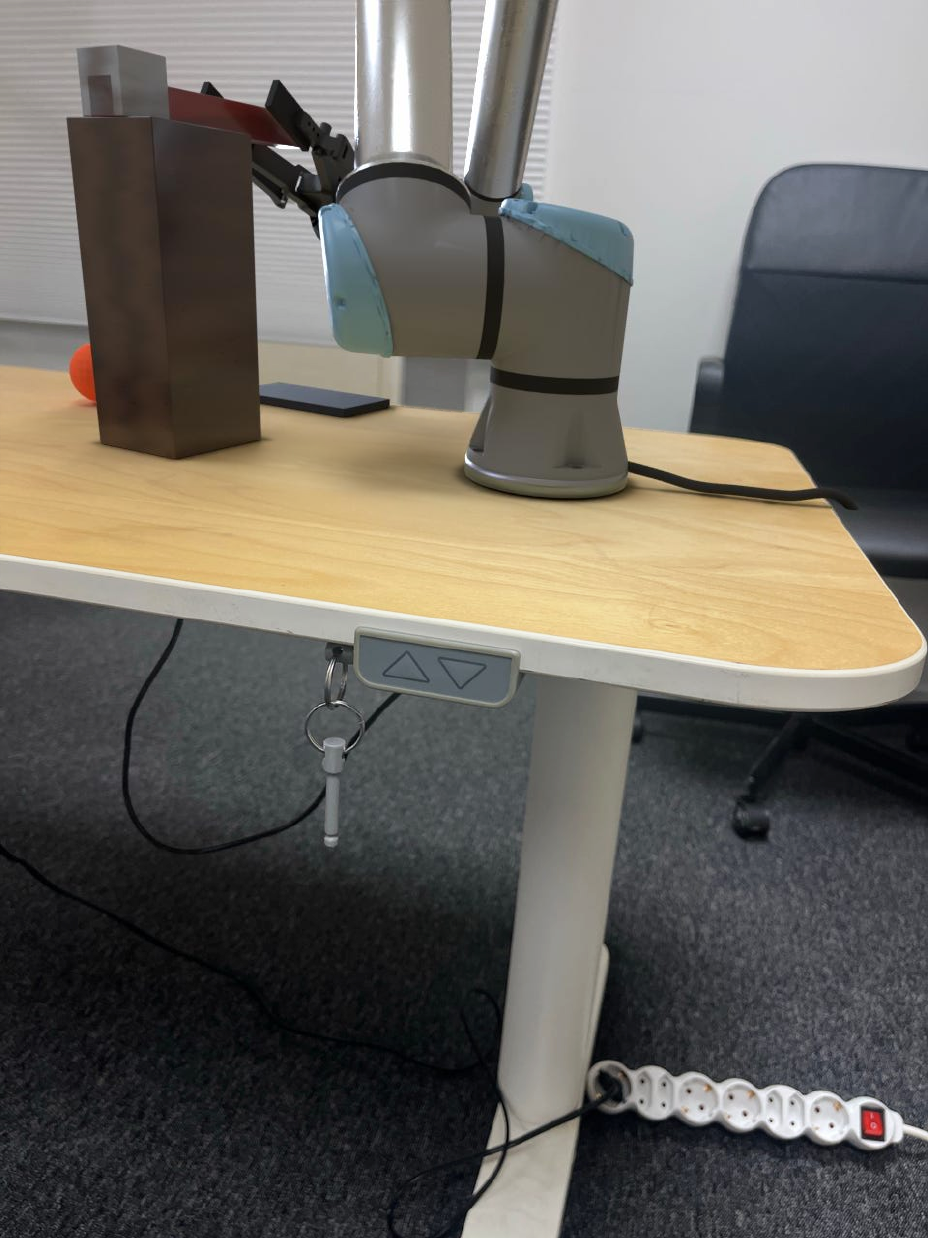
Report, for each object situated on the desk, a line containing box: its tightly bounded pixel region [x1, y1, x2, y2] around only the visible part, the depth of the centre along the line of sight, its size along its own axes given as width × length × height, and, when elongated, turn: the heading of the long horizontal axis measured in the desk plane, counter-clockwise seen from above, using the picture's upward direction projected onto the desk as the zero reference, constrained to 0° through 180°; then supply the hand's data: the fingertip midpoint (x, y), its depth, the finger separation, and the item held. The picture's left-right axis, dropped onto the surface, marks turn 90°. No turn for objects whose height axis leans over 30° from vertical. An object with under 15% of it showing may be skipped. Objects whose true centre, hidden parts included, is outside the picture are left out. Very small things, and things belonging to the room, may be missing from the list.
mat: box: [259, 381, 391, 418], centre depth 114 cm, size 18×10×1 cm, turn 61°
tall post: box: [65, 116, 262, 460], centre depth 84 cm, size 10×12×28 cm
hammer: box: [75, 44, 301, 150], centre depth 82 cm, size 5×24×5 cm, turn 149°
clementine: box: [68, 342, 96, 403], centre depth 104 cm, size 8×7×7 cm
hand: (236, 93), depth 85 cm, fingers open, 8 cm apart
